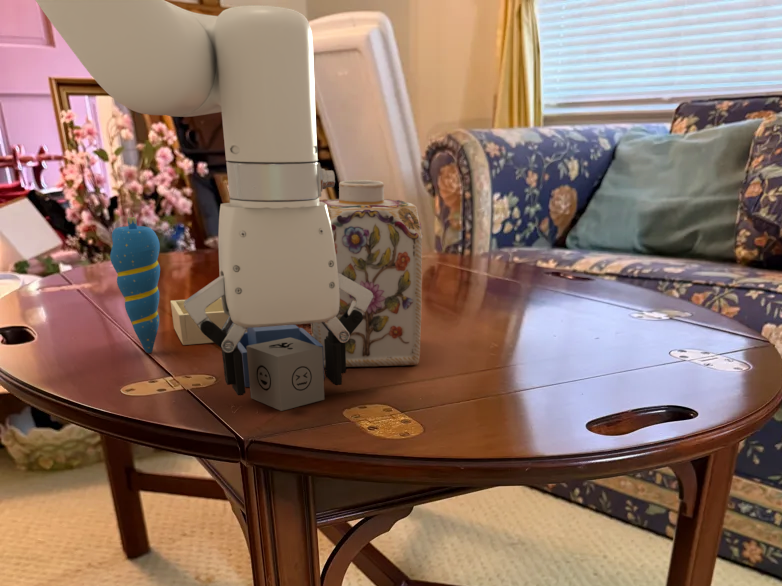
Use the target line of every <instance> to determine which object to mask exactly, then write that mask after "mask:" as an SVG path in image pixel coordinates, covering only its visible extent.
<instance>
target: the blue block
mask: <svg viewBox="0 0 782 586" xmlns="http://www.w3.org/2000/svg"><path fill="white" fill-rule="evenodd" d="M299 328H300V327H299V326H298V325H297V324H296V325H283V326H269V327H252V328H249V327H248V329H247V333H248V344H249V345H253V344H259V343H264V342H269V341H274V340H279V339H284V338H289V337H291V338H294V339H297V340H300V332H299Z"/></svg>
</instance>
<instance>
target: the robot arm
mask: <svg viewBox="0 0 782 586" xmlns="http://www.w3.org/2000/svg"><path fill="white" fill-rule="evenodd" d="M35 2H36V3H37V5H38V6H39V8H40V9H41V10H42V12H43V14H44V15H45V16H46V18H47V19H48V20H49V22H50V23H51V24H52V26H53V27H54V28H55V30H56V31H57V32H58V34H59V35H60V36H61V38H62V40H63V41H64V42H65V43H66V44H67V46H68V47H69V48H70V50H71V51H72V52H73V54H74V55H75V56H76V58H77V60H79V62H80V63H81V65H83V67H84V68H85V69H86V71H87V72H88V73H89V75H90V76H91V77H92V78H93V79H94V80H95V82H96V83H97V84H98V85H99V86H100V87H101V88H102V90H104V91H105V92H106V93H107V94H108V95H109V96H110V97H112V99H114V100H115V101H116V102H117V103H118V104H120V105H122V106H124V107H125V108H127V109H129V110H130V111H133V112H136V113H139V114H141V115H148V116H150V115H151V116H167V117H175V118H176V117H177V118H179V117H180V118H182V117H183V118H188V117H198V116H205V115H212V114H217V113H221V121H222V133H223V140H224V141H223V142H224V154H225V161H226V162H225V163H226V164H225V165H226V172H227V182H228V183H227V184H228V194H229V196H228V197H229V202H224V203H220V206H219V216H218V269H219V271H218V272H219V276H218V277H217V278H215V279H214V280H212V281H211V282H209V283H208V284H207V285H205V286H204V287H202V288H201V289H199V290H198V291H197V292H195V293H194V294H192V295H191V296H190V297H188V298H187V299H184V300H185V301H184V308H185V309H186V311H187V312H188V314H189V315H190V316H191V318H192V319H193V320H194V322H195V323H196V324H197V326H198V327H199V329H200V330H201V331H202V333H203V334H204V335H205V336H207V337H208V338H209V339H210V340H212V341H213V342H214V343H213V344H215V345H216V346H217V347H219V348H220V349H221V355H222V356H221V357H222V364H223V375H224V381H225V384H226V385H227V386H231V388H232V390H234V392H235V394H236V395H237V396H244V394H246V387H245V382H244V371H243V361H242V353H241V352H240V350H239V349H238V345H237V344H238V343H239V341H240V340H241V338H242V337H243V335H244V333H245V332H246V330H247V329H248V327H249V328H252V327H269V326H283V325H296V326H297V325H309V324H308V323H319V322H321V323H322V324H323V325H324V327H325V328H326V329H327V330H328V331H329V332H328V336H326V339H324V345H325V368H324V371H325V378H327V380H329V381H330V383H332V384H333V385H335V386H342V385H343V379H342V378H343V377H342V375H343V374H346V372H347V367H346V350H345V342H347V341H348V340H349V338H350V335H351V333H352V332H353V331H354V330H355V329H356V328H357V326H358V325H359V324H360V323H361V322H362V320H363V315H364V313H365V312H366V310H367V308H368V306H369V304H370V302H371V300H372V298H373V293H372V292H371V291H370V290H368V289H366V288H365V287H363V286H361V285H359V284H358V283H356V282H354V281H352V280H351V279H349V278H347V277H345V276H343V275H342V274H340V273H338V269H337V260H336V252H335V245H334V239H333V232H332V227H331V222H330V217H329V213H328V209H327V205H326V203H323V202H319V200H320V198H321V197H322V192H323V190H326V189H327V188H334V187H335V184H336V175H335V171H334V170H326V169H325V168H322V166H321V163H320V162H318V161H319V159H318V138H317V114H316V91H315V90H316V88H315V87H316V86H315V65H314V64H315V63H314V43H313V42H314V41H313V31H312V28H311V24H310V21H309V20H308V19H307V17H306V16H305V15H304V14H303V13H301V12H299V11H298V10H296V9H292V8H288V7H282V6H274V5H255V4H253V5H239V6H231V7H229V8H226V9H223V10H222V11H221V12H220V13H219V14H218V15H211V14H204V13H199V12H193V11H190V10H189V9H185V8H182V7H180V6H177V5H176V4H174V3H171V2H169V1H166V0H35ZM339 289H341V290H342V291H344V292H346V293H348V294H350V295H351V296H352V303H351V306H350V308H349V309H348V310H347V311H346V312H345V313H344V314H343V315H342V317H341V318H340V319H338V318H337V317H336V316H337V314H338V312H339V306H340V293H339ZM219 298H221V301H222V306H223V310H224V312H225V314H227V315H228V316H229V318H228V319H227V321H226V322H225V324H224V326H223V327H222V329H220V328H219V327H218V326H217V325H215V324H214V323H213V322H212V321H211V320H210V319H209V318H208V316H207V315H206V312H205V310H206V308H207V307H208V306H209V305H211V304H212V303H214V302H215V301H216V300H218V299H219Z"/></svg>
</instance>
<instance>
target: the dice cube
mask: <svg viewBox="0 0 782 586" xmlns="http://www.w3.org/2000/svg"><path fill="white" fill-rule="evenodd" d="M246 347H247V359H248V370H249V381H250V387H249V391H250V398H251V399H253V400H254V401H257V402H259V403H261V404H264V405H267V406H268V407H271V408H273V409H276V410H278V411H280V412H282V411H283V412H284V411H287V410H291V409H293V408H298V407H301V406H305V405H306V406H307V405H309V404H313V403H317V402H321V401H324V400H325V375H324V376H323V351H322V347H319V346H316V345H313V344H310V343H307V342H304V341H301V340H297V339H294V338H291V337H289V338H284V339H279V340H274V341H269V342H264V343H259V344H253V345H248V346H246Z"/></svg>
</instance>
